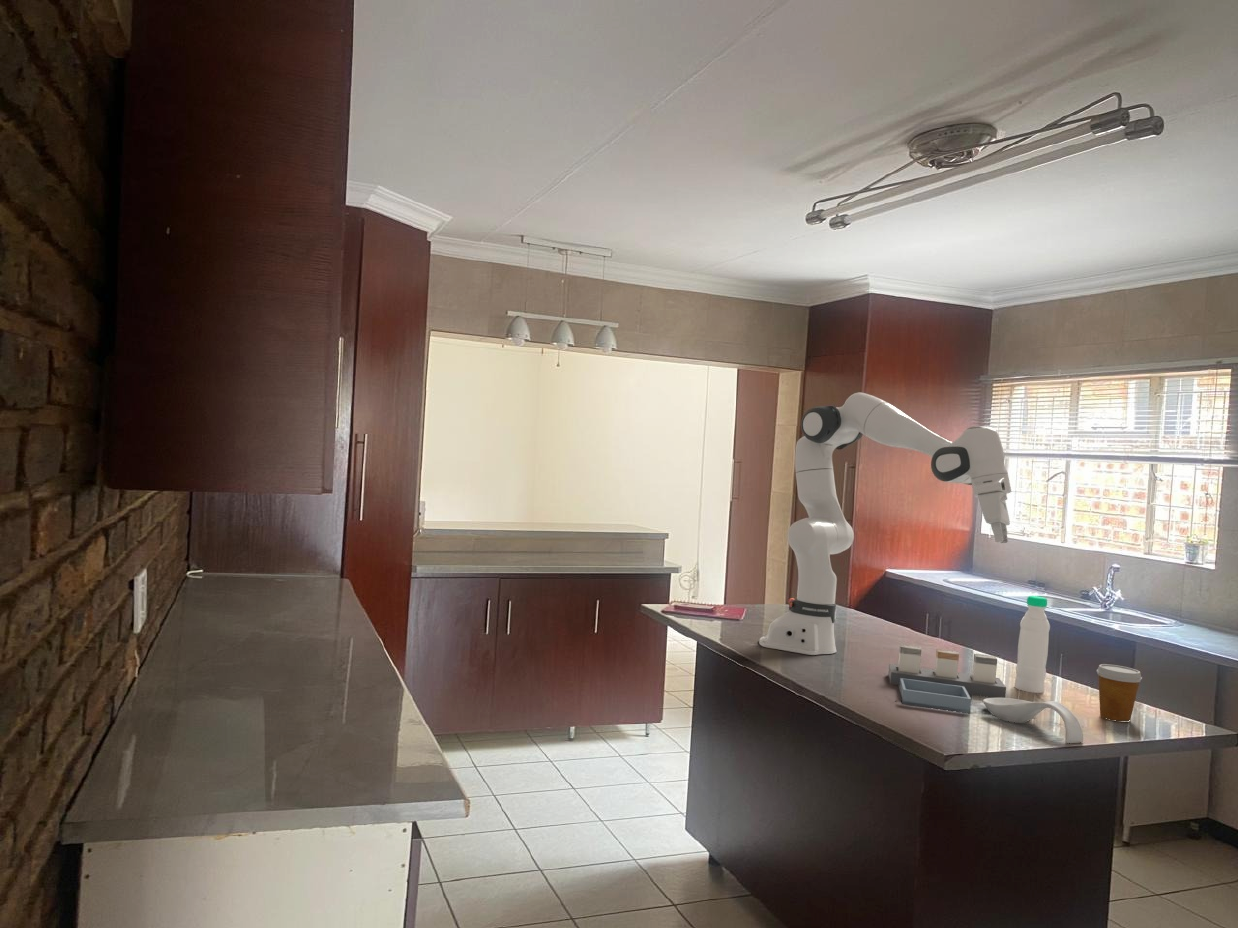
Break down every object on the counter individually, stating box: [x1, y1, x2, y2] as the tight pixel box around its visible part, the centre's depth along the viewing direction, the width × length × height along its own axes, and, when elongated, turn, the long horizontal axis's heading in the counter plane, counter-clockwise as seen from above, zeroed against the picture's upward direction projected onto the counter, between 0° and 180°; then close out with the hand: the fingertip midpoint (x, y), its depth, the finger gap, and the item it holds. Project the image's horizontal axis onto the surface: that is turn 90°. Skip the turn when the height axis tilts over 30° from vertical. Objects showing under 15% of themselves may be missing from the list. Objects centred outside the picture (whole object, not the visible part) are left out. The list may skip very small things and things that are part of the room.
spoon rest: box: [982, 697, 1084, 744], centre depth 202 cm, size 24×12×7 cm, turn 24°
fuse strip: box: [888, 663, 1007, 698], centre depth 228 cm, size 27×10×4 cm, turn 76°
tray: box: [898, 678, 972, 714], centre depth 215 cm, size 15×12×4 cm
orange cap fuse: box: [934, 648, 960, 678], centre depth 228 cm, size 5×4×9 cm
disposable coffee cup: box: [1096, 663, 1143, 721], centre depth 214 cm, size 10×10×12 cm
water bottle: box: [1014, 595, 1051, 694], centre depth 233 cm, size 7×7×25 cm
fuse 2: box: [972, 653, 998, 683], centre depth 226 cm, size 5×4×9 cm
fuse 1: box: [897, 644, 922, 673], centre depth 230 cm, size 5×4×9 cm
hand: (1002, 542), depth 225 cm, fingers open, 8 cm apart
